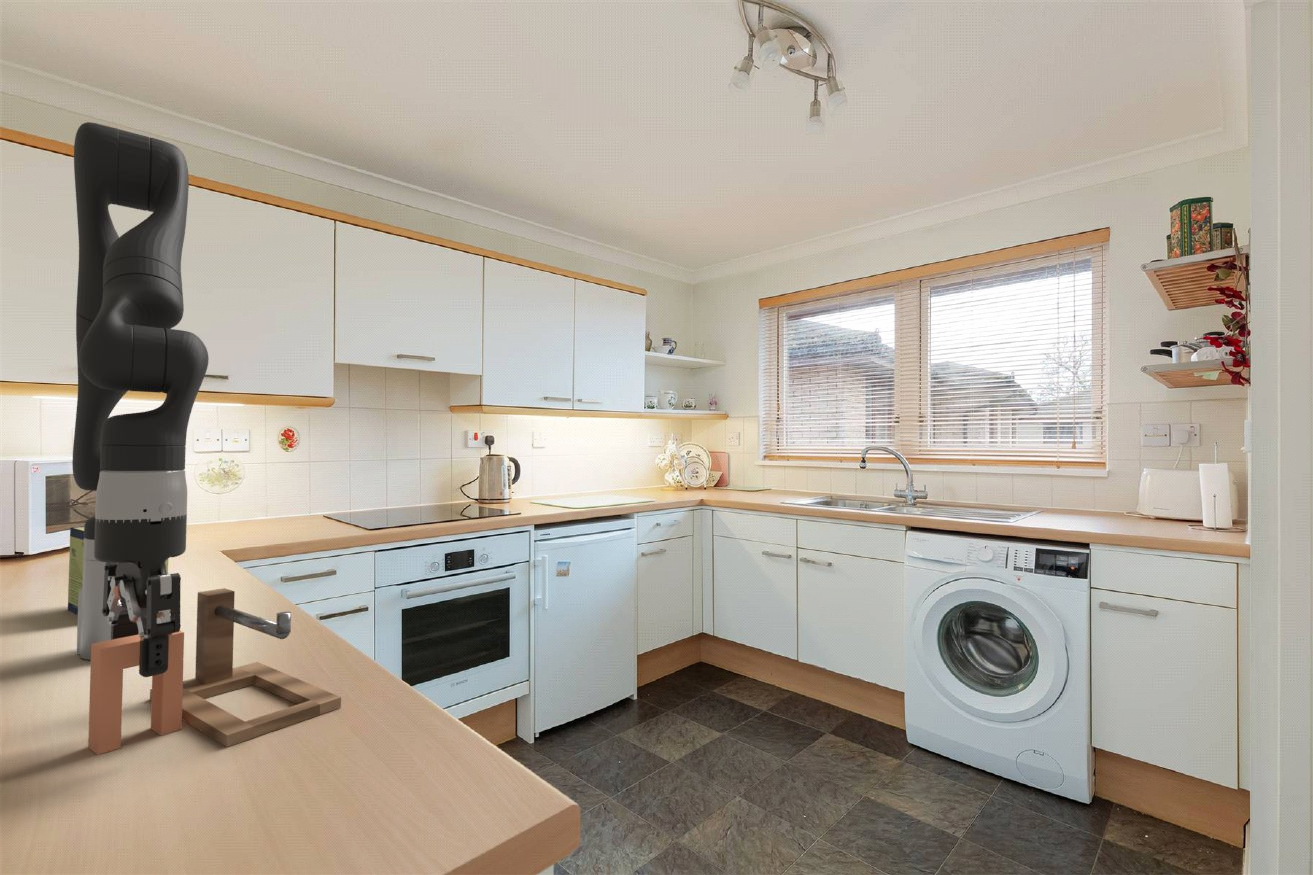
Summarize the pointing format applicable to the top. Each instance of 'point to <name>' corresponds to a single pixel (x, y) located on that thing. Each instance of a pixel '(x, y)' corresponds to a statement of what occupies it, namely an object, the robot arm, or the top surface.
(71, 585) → the protein box
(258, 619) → the hook arm
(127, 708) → the top surface
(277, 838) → the top surface
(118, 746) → the salmon wooden arch
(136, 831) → the top surface
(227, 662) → the wooden hook stand
